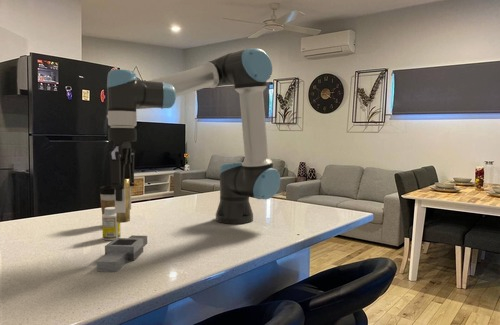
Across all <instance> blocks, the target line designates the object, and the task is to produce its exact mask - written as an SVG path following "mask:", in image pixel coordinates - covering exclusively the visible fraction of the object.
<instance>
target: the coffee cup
mask: <svg viewBox="0 0 500 325" xmlns="http://www.w3.org/2000/svg"><path fill="white" fill-rule="evenodd" d="M98 194H99V195H100V208H101V215H103V214H105V213H104V209H105V208H107V207H115V189H111V185H104V186H100V187H99V192H98Z"/></svg>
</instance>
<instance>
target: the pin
mask: <svg viewBox="0 0 500 325" xmlns="http://www.w3.org/2000/svg"><path fill="white" fill-rule="evenodd" d="M130 187H131V186H130V179H129V178H124V189H125V195H126V212H125V213H116V217H117V222H119V223H120V224H123V223H129V222H130V221H131V215H130V214H131V210H130Z"/></svg>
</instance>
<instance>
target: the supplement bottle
mask: <svg viewBox="0 0 500 325" xmlns="http://www.w3.org/2000/svg"><path fill="white" fill-rule="evenodd" d="M104 213H105V214H103V215H102V214H101V215H102V216H101V221H102V222H101V225H102V230H101V231H102V239H103V240H105V241H113V240H114V239H116V238H121V223H119V222H117V217H116V213H115V207H107V208H105V209H104Z"/></svg>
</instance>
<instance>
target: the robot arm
mask: <svg viewBox="0 0 500 325" xmlns="http://www.w3.org/2000/svg"><path fill="white" fill-rule="evenodd" d="M107 73H108V74H107V77H106V78H107V79H106V80H107V81H106V82H107V83H106V88H107V90H106V91H107V93H106V94H107V115H106V118H107V125H108V126H109V127H108V129H107V140H108V142H113V148H112V150H111V151H108V158H109V170H110V171H109V174H110V178H109V179H110V186H111V189H115V213H125V212H126V195H125V189H124V178H129V179H130V211H131V210H132V187H135V157H136V150H135V149H133V148H132V143H131V142H137V139H138V137H137V135H138V134H137V133H138V132H137V129H136V128H135V127H136V126H137V124H138V123H137V110H139V109H140V110H142V109H143V110H144V109H145V110H146V109H161V110H163V109H171V108H172V107H173V106H174V105H175V103H176V101H177V100H176V98H177V97H179V96H183V95H186V94H189V93H193V92H196V91H199V90H202V89H205V88H210V89H215V88H219V87H222V86H233V87H234V90H235V92H236V93H238V94H239V105H240V119H241V127H242V128H241V129H242V140H243V141H242V142H243V150H244V160H243V162H242V161H241V162H240V161H239V162H230V163H223V164H221V166H220V167H219V168H220V169H219V203H218V206H217V210H216V212H215V220H216V222H219V223H223V224H228V225H229V224H231V225H232V224H233V225H235V224H236V225H237V224H248V223H250V222H251V223H252V221H253V220H254V212H253V209H252V206H251V203H250V198H254V199H256V200H270V199H272V198H273V197H274V196H275V195H276V194H277V192H278V191H279V190H280V186H281V175H280V172H278V170H277V169H276V168H274V162H273V160H272V159H271V158H270V157H269V152H268V150H269V149H268V139H267V126H266V125H267V124H266V112H265V99H264V91H265V90H266V89H267V86H268V83H267V81H268V80H269V79H270V78H271V76H272V74H273V63H272V60H271V58H270V56H269V55H268V54H267V53H266V52H265V51H264V50H263V49H261V48H257V47H256V48H255V47H254V48H246V49H243V50H239V51H234V52H230V53H227V54H223V55H221V56H219V57H218V58H214V59H212V60H209V61H206V62H203V64H202V65H201V66H197V67H195V68H191V69H186V70H183V71H179V72H175V73H172V74H169V75H165V76H162V77H158V78H154V79H151V80H142V79H138V77H137V73H136V72H135V71H134V70H130V69H112V70H109V71H108V72H107Z"/></svg>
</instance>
